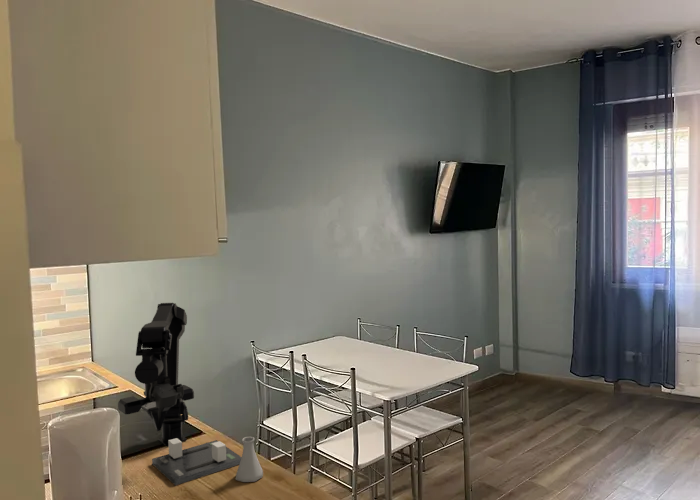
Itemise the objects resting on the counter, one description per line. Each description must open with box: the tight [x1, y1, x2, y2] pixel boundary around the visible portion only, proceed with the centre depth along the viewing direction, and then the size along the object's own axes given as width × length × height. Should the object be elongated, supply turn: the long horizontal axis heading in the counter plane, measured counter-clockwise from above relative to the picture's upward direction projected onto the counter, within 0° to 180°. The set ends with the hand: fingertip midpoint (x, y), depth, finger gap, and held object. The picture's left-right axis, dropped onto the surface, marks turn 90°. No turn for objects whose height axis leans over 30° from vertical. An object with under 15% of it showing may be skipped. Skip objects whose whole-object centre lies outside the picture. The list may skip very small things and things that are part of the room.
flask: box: [235, 436, 264, 483], centre depth 147 cm, size 7×7×10 cm
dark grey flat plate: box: [151, 439, 242, 486], centre depth 156 cm, size 16×19×2 cm
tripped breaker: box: [168, 438, 183, 459], centre depth 157 cm, size 4×2×4 cm, turn 39°
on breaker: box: [212, 440, 227, 462], centre depth 154 cm, size 4×2×4 cm, turn 39°
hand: (158, 430), depth 153 cm, fingers closed
